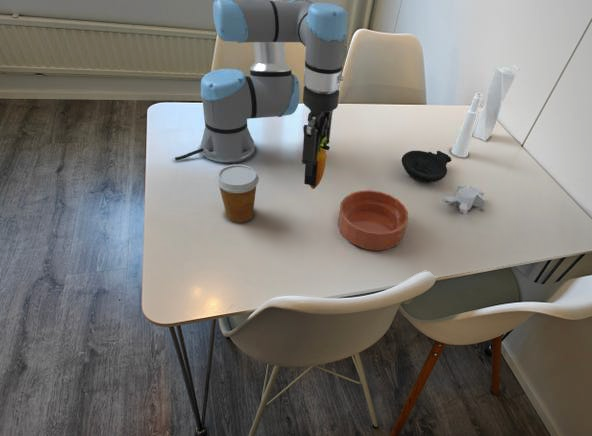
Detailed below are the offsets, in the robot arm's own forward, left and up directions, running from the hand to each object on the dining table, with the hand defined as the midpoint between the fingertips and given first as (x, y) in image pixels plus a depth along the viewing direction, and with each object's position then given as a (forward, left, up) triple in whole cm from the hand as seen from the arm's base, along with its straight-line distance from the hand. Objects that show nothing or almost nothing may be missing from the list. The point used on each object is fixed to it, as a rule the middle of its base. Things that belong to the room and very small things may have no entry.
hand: (314, 178), depth 99 cm
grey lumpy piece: (+45, -1, -11) cm, 46 cm away
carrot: (0, 0, -3) cm, 3 cm away
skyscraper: (+74, +40, -11) cm, 85 cm away
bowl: (+14, -8, -11) cm, 19 cm away
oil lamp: (+40, +16, -11) cm, 44 cm away
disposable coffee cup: (-18, +1, -11) cm, 21 cm away
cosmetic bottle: (+58, +28, -11) cm, 65 cm away
